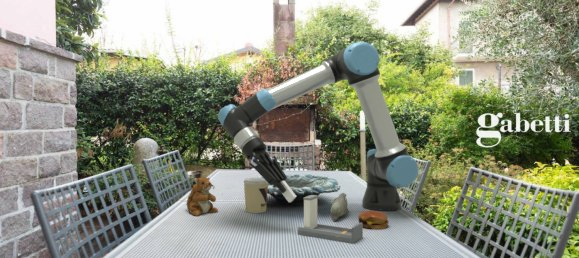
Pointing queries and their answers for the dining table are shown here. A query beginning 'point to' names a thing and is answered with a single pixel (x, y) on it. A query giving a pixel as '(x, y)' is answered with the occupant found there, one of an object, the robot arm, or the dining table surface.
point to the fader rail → (334, 232)
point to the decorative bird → (339, 207)
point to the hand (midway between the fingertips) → (292, 199)
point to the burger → (373, 219)
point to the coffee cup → (255, 194)
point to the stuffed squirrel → (201, 197)
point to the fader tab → (310, 211)
